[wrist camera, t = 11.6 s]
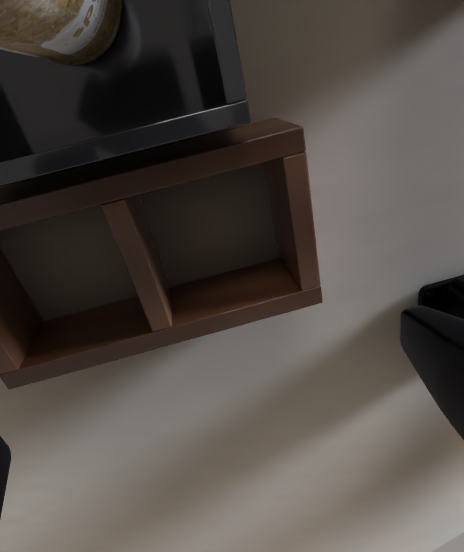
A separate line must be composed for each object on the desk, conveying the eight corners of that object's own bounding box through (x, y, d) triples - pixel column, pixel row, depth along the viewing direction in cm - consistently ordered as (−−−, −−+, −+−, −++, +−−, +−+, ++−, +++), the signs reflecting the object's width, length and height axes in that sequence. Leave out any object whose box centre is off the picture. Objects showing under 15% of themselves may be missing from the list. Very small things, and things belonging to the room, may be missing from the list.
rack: (297, 267, 22) (323, 302, 18) (34, 339, 21) (8, 390, 18) (276, 117, 18) (304, 125, 14) (-52, 200, 17) (-108, 231, 14)
